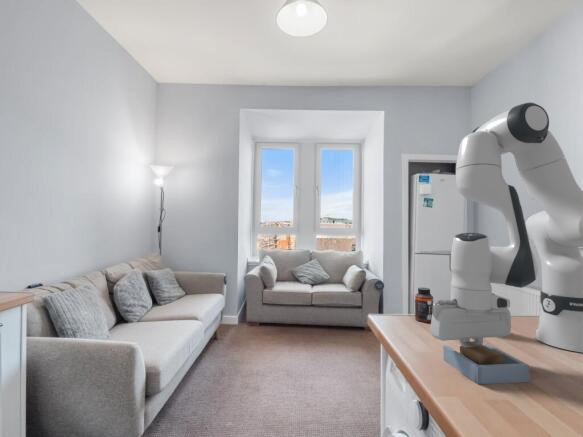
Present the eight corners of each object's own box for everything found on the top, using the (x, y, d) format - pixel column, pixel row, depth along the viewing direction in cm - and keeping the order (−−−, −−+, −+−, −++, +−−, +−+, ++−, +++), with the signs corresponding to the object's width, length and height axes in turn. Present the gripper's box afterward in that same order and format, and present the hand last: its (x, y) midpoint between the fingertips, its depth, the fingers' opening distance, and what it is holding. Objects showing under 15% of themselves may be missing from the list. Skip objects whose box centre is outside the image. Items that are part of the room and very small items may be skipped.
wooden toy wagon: (483, 362, 75) (482, 340, 75) (504, 374, 69) (504, 350, 69) (458, 365, 73) (458, 342, 73) (477, 377, 67) (477, 352, 68)
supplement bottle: (435, 323, 105) (435, 290, 105) (416, 322, 106) (416, 289, 106) (430, 318, 111) (430, 287, 111) (413, 317, 112) (413, 286, 112)
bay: (487, 357, 78) (487, 343, 78) (529, 381, 66) (529, 365, 66) (443, 359, 76) (443, 345, 76) (477, 384, 64) (477, 367, 65)
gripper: (442, 303, 70) (442, 364, 70) (516, 300, 74) (516, 357, 74) (424, 297, 76) (424, 352, 76) (494, 294, 80) (494, 347, 80)
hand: (470, 355), depth 75 cm, fingers closed, pressing on wooden toy wagon
